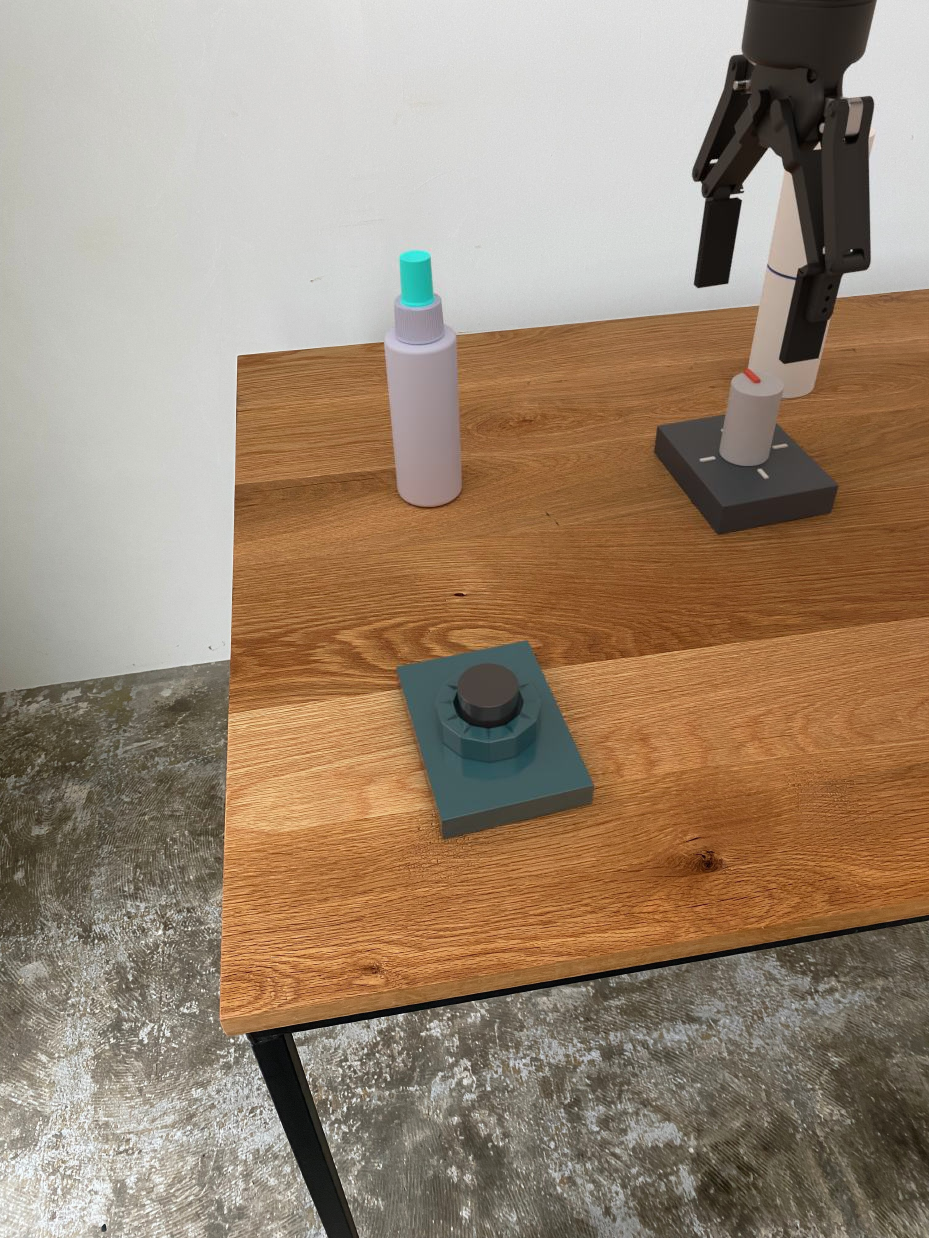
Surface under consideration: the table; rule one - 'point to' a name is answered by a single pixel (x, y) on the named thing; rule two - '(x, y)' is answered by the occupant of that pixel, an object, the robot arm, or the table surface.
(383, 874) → the table surface
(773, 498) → the dial base
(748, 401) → the tap dial
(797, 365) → the cylindrical container
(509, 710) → the dark grey round knob
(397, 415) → the spray bottle
